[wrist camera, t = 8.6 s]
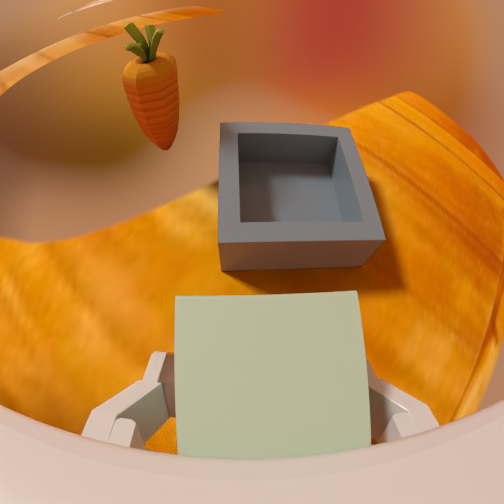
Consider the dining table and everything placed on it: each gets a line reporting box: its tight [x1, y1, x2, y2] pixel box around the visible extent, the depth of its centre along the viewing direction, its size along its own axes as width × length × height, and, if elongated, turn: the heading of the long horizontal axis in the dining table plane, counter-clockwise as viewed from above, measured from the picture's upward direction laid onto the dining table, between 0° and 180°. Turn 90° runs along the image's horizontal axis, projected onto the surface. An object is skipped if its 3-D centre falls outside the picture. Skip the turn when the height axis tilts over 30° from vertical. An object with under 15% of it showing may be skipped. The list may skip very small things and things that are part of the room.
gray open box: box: [218, 122, 386, 271], centre depth 24 cm, size 12×12×5 cm
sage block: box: [174, 290, 371, 458], centre depth 10 cm, size 4×4×9 cm
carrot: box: [123, 22, 179, 150], centre depth 22 cm, size 5×5×15 cm
